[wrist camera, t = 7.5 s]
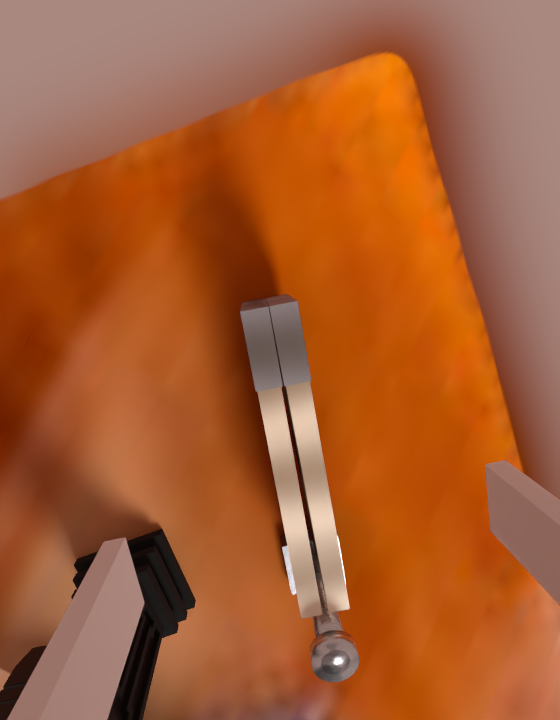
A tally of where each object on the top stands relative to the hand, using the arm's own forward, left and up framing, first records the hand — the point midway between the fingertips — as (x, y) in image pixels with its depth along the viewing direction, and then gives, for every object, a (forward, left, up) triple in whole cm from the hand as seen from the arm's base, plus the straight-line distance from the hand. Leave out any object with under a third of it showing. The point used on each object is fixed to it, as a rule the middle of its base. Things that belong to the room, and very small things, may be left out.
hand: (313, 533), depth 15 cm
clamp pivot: (-17, 0, -21) cm, 27 cm away
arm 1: (-4, -1, -19) cm, 19 cm away
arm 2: (-4, +1, -19) cm, 19 cm away
